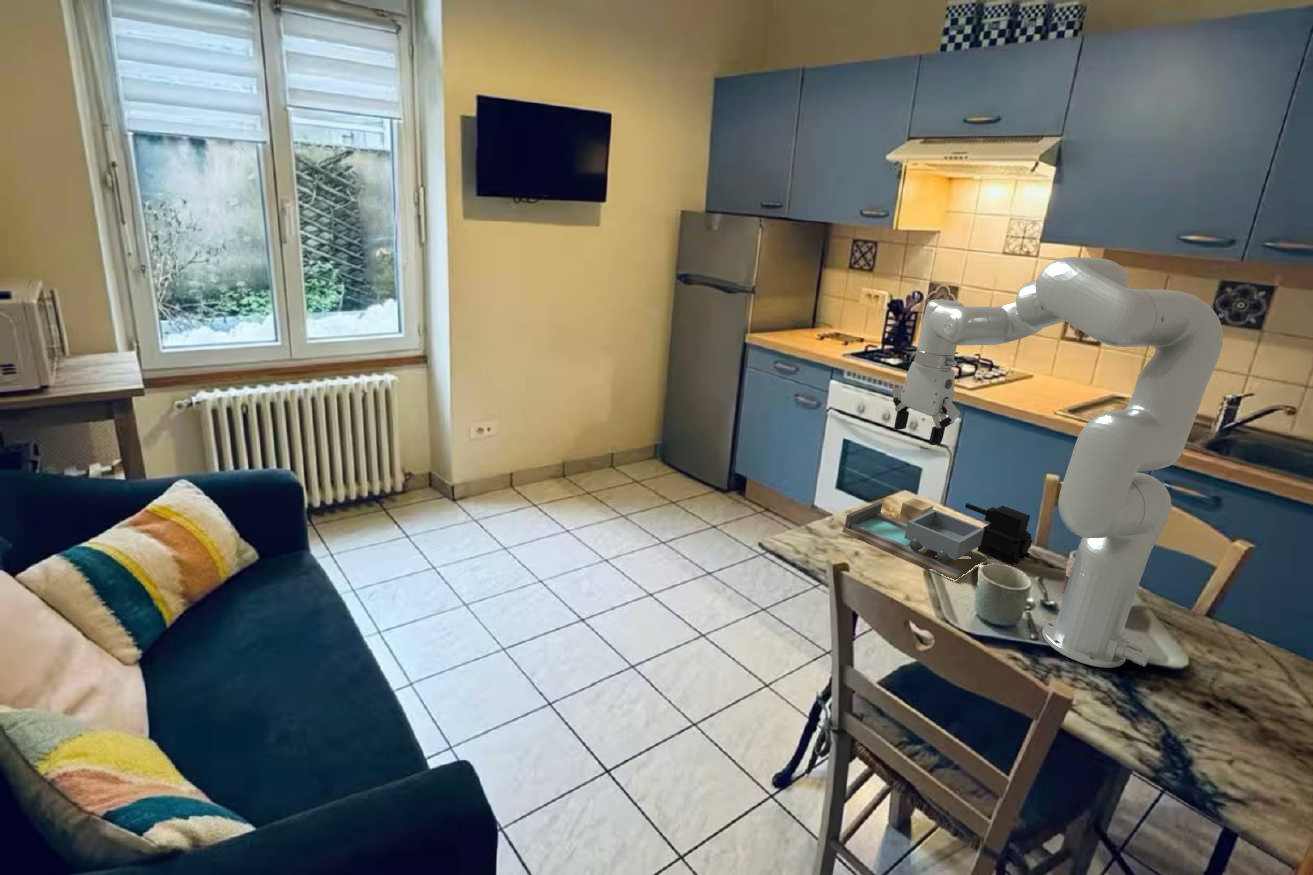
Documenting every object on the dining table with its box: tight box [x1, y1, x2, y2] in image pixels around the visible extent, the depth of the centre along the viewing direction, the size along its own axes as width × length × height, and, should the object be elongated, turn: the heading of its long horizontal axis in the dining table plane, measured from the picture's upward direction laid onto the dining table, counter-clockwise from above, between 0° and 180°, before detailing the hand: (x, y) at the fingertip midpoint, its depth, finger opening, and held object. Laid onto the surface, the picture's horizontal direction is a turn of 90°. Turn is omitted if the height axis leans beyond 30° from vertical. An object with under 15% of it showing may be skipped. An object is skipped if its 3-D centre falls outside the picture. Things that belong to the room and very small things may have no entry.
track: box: [842, 501, 988, 580], centre depth 153 cm, size 26×14×4 cm, turn 42°
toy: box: [964, 502, 1033, 566], centre depth 154 cm, size 8×14×10 cm, turn 41°
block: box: [898, 497, 934, 524], centre depth 165 cm, size 5×5×5 cm
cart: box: [904, 508, 984, 563], centre depth 148 cm, size 11×11×6 cm
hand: (916, 436), depth 156 cm, fingers open, 9 cm apart
